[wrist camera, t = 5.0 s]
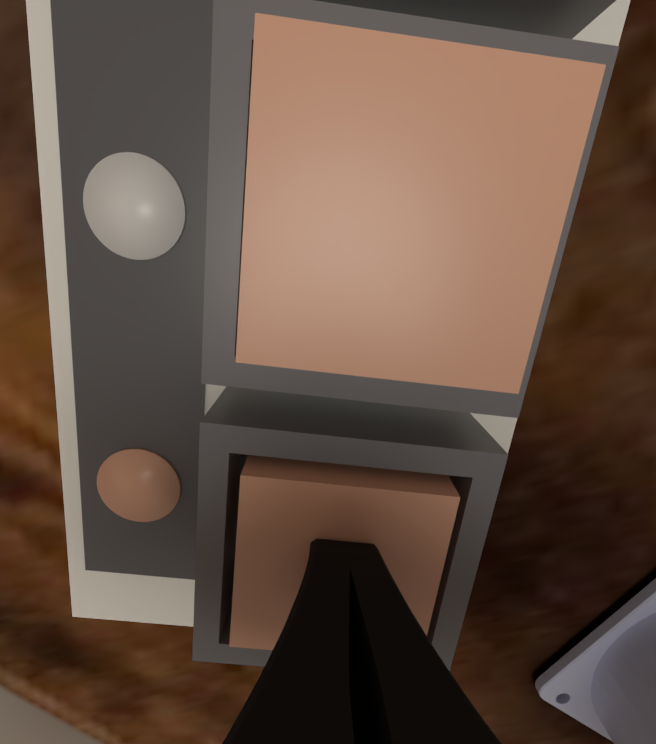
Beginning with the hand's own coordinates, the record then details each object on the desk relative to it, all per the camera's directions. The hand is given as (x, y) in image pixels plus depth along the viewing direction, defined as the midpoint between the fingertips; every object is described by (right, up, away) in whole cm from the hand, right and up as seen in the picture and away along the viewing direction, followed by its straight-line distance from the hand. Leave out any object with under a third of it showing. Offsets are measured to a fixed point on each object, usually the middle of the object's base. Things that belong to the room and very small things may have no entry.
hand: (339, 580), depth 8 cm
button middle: (+1, +7, -1) cm, 7 cm away
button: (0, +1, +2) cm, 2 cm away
